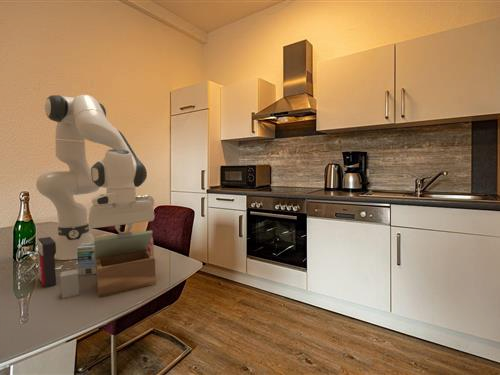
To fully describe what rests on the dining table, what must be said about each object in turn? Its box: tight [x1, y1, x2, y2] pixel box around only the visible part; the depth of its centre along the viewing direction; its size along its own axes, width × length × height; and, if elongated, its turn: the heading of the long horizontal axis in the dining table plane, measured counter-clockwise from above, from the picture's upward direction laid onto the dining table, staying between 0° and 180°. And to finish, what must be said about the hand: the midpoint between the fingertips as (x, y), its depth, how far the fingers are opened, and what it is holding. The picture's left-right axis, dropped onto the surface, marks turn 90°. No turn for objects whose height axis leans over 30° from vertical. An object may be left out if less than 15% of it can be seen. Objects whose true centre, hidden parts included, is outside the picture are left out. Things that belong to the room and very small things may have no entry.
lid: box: [94, 229, 153, 258], centre depth 93 cm, size 13×17×2 cm
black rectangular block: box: [36, 236, 57, 288], centre depth 95 cm, size 11×4×15 cm, turn 45°
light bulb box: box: [77, 241, 96, 276], centre depth 105 cm, size 11×7×11 cm, turn 105°
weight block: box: [59, 268, 80, 299], centre depth 86 cm, size 4×4×7 cm
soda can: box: [148, 236, 155, 258], centre depth 114 cm, size 7×7×12 cm
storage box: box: [95, 250, 157, 298], centre depth 93 cm, size 12×17×9 cm
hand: (124, 237), depth 92 cm, fingers closed, pressing on lid
